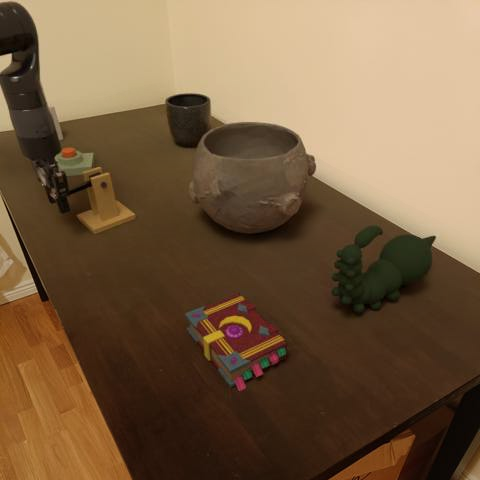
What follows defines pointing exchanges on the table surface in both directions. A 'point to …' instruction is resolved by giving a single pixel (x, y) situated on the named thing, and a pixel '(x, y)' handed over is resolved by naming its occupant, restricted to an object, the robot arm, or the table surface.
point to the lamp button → (68, 152)
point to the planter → (188, 117)
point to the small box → (56, 121)
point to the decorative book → (236, 339)
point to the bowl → (250, 175)
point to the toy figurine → (380, 268)
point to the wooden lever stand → (103, 204)
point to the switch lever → (79, 186)
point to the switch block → (76, 163)
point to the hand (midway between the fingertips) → (59, 206)
